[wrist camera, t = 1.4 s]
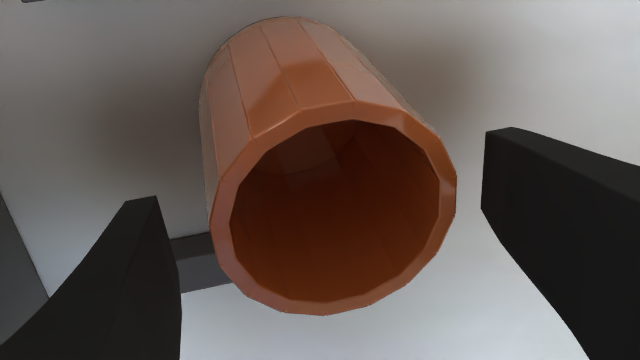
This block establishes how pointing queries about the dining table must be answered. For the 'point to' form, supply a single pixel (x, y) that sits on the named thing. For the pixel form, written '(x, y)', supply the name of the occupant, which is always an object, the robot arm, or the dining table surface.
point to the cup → (317, 171)
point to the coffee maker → (28, 292)
